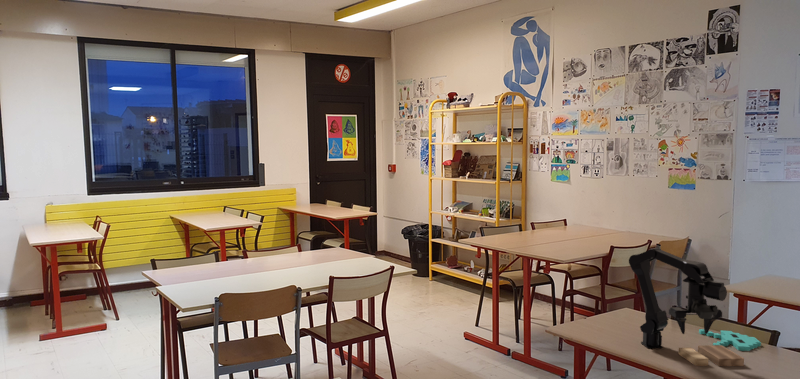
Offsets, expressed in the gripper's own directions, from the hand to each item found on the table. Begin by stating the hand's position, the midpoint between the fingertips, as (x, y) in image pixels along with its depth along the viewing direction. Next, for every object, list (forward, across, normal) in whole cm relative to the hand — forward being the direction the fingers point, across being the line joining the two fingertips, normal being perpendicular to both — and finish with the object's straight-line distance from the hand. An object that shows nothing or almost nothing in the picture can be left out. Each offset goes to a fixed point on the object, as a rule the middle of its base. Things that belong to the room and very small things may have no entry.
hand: (694, 333), depth 217 cm
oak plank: (+11, 0, 0) cm, 11 cm away
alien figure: (+11, +28, +19) cm, 35 cm away
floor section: (+11, +11, 0) cm, 15 cm away
